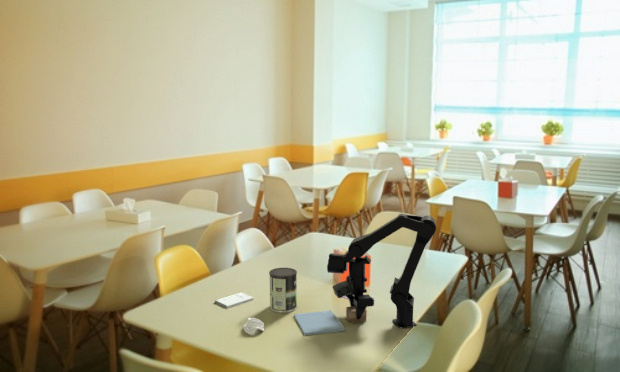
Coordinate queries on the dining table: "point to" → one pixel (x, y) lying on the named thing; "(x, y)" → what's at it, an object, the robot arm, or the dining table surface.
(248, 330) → the white crumpled lump
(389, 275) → the dining table surface
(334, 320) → the mat
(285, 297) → the coffee can
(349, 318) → the walnut block
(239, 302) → the external hard drive
